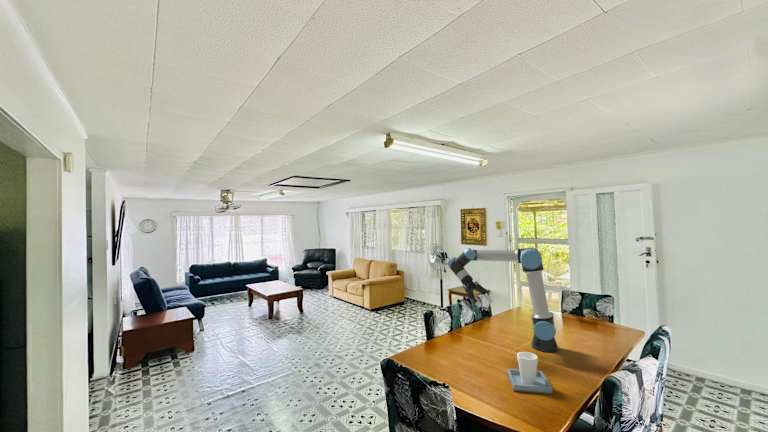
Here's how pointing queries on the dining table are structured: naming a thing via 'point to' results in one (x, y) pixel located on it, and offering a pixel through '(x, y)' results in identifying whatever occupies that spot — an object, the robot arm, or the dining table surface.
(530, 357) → the foam cup
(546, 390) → the tray
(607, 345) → the dining table surface
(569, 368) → the dining table surface
